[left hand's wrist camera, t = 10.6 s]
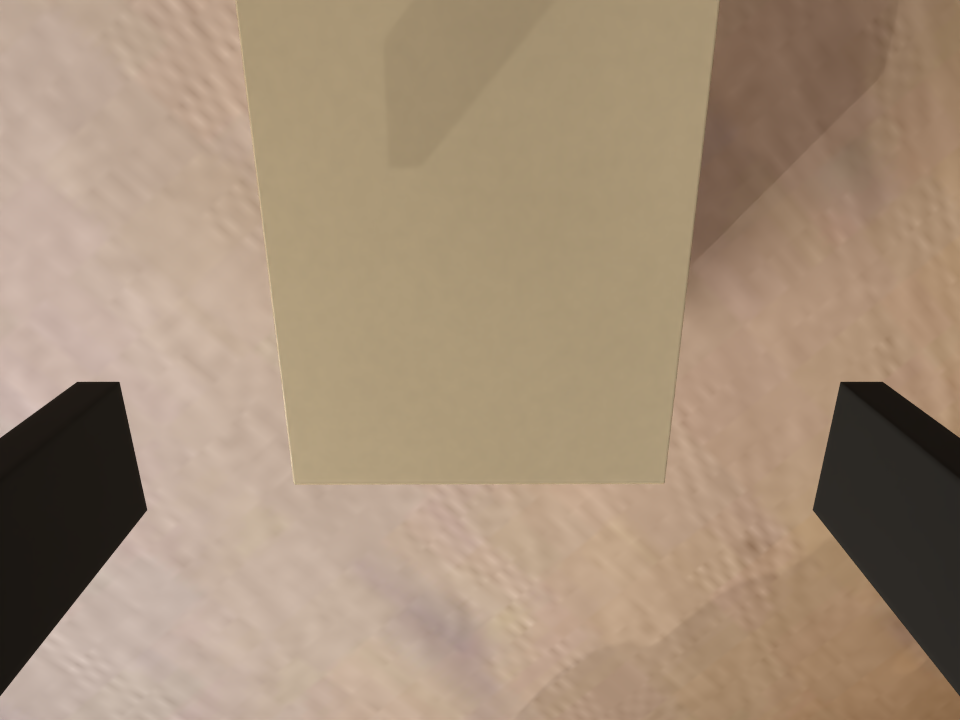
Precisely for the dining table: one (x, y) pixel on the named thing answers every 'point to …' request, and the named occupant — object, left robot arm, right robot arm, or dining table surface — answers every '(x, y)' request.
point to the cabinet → (478, 231)
